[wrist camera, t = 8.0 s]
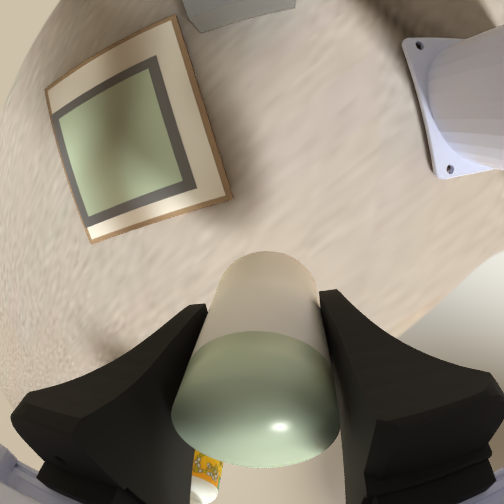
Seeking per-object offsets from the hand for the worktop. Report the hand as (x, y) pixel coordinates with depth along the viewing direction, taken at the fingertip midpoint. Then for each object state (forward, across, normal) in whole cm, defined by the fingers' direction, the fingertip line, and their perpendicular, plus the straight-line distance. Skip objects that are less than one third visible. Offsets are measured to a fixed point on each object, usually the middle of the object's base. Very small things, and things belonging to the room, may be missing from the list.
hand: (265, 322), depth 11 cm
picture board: (+6, +7, -8) cm, 13 cm away
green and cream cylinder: (+2, 0, 0) cm, 2 cm away
